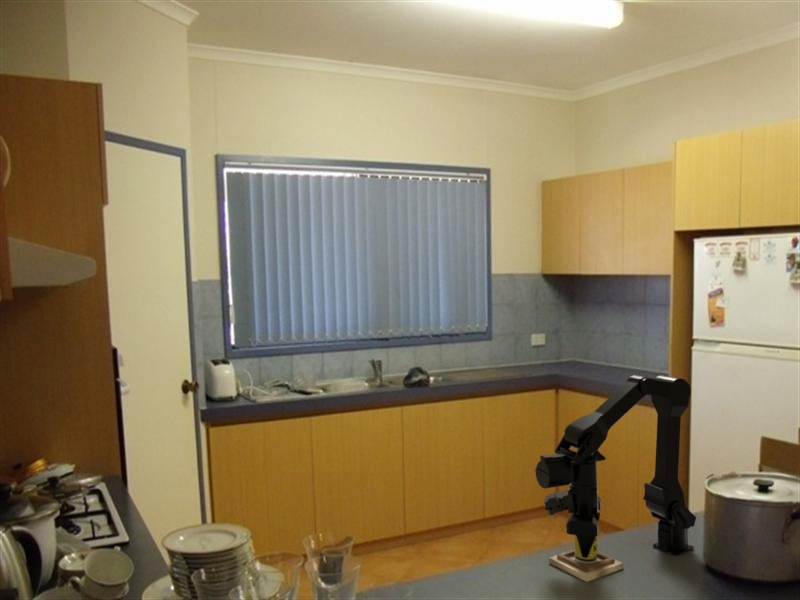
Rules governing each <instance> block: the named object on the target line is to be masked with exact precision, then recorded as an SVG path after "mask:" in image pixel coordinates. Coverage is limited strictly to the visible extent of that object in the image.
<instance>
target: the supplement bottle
mask: <svg viewBox="0 0 800 600" xmlns="http://www.w3.org/2000/svg"><path fill="white" fill-rule="evenodd" d="M573 538H574V539H573V540H574V541H573V542H574V545H573V546H574V549H575V559H576V561H578V562H580V563H583V564H592V563H595V562H596V561H597V551H598V544H597V540H598V539H597V538H598V537H596V538H595V540H594V543H593V545H592V547H591V550H590V552H589V555H588V557H587V558H585V557H582V554H581V550H580V547H579V543H578V540H577V536H576V535H573Z"/></svg>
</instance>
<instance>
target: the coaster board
mask: <svg viewBox="0 0 800 600" xmlns="http://www.w3.org/2000/svg"><path fill="white" fill-rule="evenodd" d="M548 564H550V565H552V566H554V567H556V568H559V569H561V570H562V571H564V572H566V573H568V574H570V575H572V576H574V577H576V578H577V579H580V580H582V581H584V582H586V583H587V582H590V581H593V580H595V579H598V578H601V577H604V576H607V575H609V574H612V573H614V572H618V571H619V570H622V569H623V568H624V563H623V562H621V561H620V560H617V559H615V558H614V557H612V556H609V555H607V554H606V553H603V552H601V551H599V550H597V561H596V562H595V563H592V564H583V563H580V562H578V561H576V559H575V548H573V549H570V550H566V551H563V552H561V553H558V554H556V555H554V556H551V557H549V558H548Z"/></svg>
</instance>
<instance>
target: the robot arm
mask: <svg viewBox="0 0 800 600" xmlns="http://www.w3.org/2000/svg"><path fill="white" fill-rule="evenodd" d="M691 392H692V388H691V385H690V383H689V382H688V381H687V380H686V379H684V378H680V377H674V376H670V375H666V374H665V375H663V374H661V375H658V376H656V377H655V378H653V377H647V376H641V375H636V374H635V375H630V376H629V377H628V378H627V379H626V381H625V383H624V384H623V385H621V387H620V388H618V389H617V390H616V391H615V392H613V394H611V396H610V397H608V398H607V399H606V400H604V402H603V403H602V404H601V405H600V406H598V408H596V409H595V410H594V411H593V412H591V413H589V414H587V415H584V416H580V417H579V418H577V419H576V420H573V421H572V422H571V423H569V424H568V425H567V426H566V427H565V428H564V434H563V436H562V438H561V440H560V441H559V443H558V444H557V446H556V448H555V450H554V453H555V454H543V455H540V458H539V459H540V460H539V461H538V462H537V464H536V466H535V467H536V468H535V469H534V470H535V478H536V481H537V483H538V485H539V487H540V488H541V489H551V488H557V487H563V486H569V488H567V489H565V490H559V491H557V492H553V493H550V494H546V495H545V497H544V500H543V503H544V507H545V508H544V509H545V511H546V512H547V513H548V515H549V516H553V515H555V514H557V513H561V512H564V511H567V512H568V513H569V514H571V515H570V516H569V517H568V518H567V519H566V524H565V527H566V534H567V535H571V536H574V535H576V536H577V540H578V543H579V547H580V550H581V554H582V557H585V558H587V557H588V555H589V552H590V550H591V547H592V545H593V543H594V540H595V538H597V537H598V535H599V521H600V517H601V513H600V512H599V511H602V509H601V508H602V499H601V497H600V496H599V494H598V490H599V483H598V465H597V464H598V463H597V462H602V461H605V460H607V459H606V456H604V455H603V454H602V453H601V452H600V451H599V449H600V448H601V446H602V445H603V444H604V443H605V442H606V440H607V437H608V433H609V431H610V430H611V428H612V427H613V426H614V425H615V424H617V422H618V421H620V420H621V419H622V418H623V417H624V416H625V415H627V413H629V411H630V410H632V409H633V408H634V407H635V406H636V405H637V404H638V403H639V402H640V401H641V400H642V399H644V397H645V396H647V395H648V396H650V398H651V399H650V400H651V403H652V405H653V407H654V410H655V411H656V414H657V418H656V422H657V423H656V424H657V425H656V443H655V444H656V445H655V446H656V447H655V470H654V477H653V478H652V479H651V481H650V482H644V485H643V487H644V495H643V497H642V499H643V501H644V502H645V506H646V507H647V509H648V510H649V511H650V513H651V517H652V518H655V519H657V520H659V521H658V522H657V525H658V528H657V542H654V543H653V544H652V547H654V548H655V549H659V550H661V551H664V552H665V553H666V552H667V553H668V554H671V555H674V556H679V555H682V554H685V553H687V552H690V551H692V550H694V549H695V547H694V546H693V545H691V544H689V540H688V539H689V537H688V534H689V533H688V530H689V529H690V528H691V527H692V528H693V527H694V526H695V524H696V520H697V517H696V515H694V514H693V512H692V511H691V510H690V509H688V508H687V506H686V499H685V498H686V497H685V492H684V490H683V488H682V487H683V486H682V485H681V483H680V481H679V467H680V464H679V463H680V445H681V443H680V442H681V441H680V440H681V423H682V422H681V420H682V416H683V414H684V413H685V412H686V410H687V408H688V407H689V404H690V399H691V398H690V397H691V394H692V393H691ZM570 448H571V449H570ZM572 449H573V450H572ZM574 450H576V451H574Z"/></svg>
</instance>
